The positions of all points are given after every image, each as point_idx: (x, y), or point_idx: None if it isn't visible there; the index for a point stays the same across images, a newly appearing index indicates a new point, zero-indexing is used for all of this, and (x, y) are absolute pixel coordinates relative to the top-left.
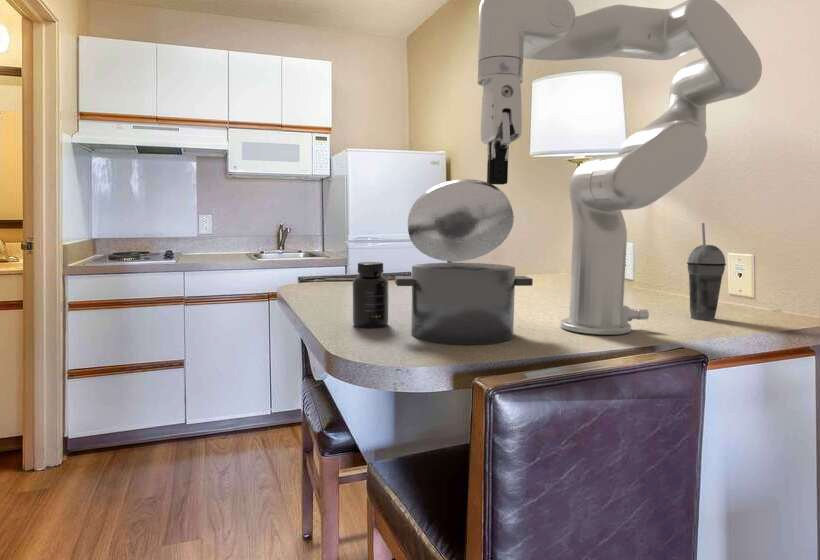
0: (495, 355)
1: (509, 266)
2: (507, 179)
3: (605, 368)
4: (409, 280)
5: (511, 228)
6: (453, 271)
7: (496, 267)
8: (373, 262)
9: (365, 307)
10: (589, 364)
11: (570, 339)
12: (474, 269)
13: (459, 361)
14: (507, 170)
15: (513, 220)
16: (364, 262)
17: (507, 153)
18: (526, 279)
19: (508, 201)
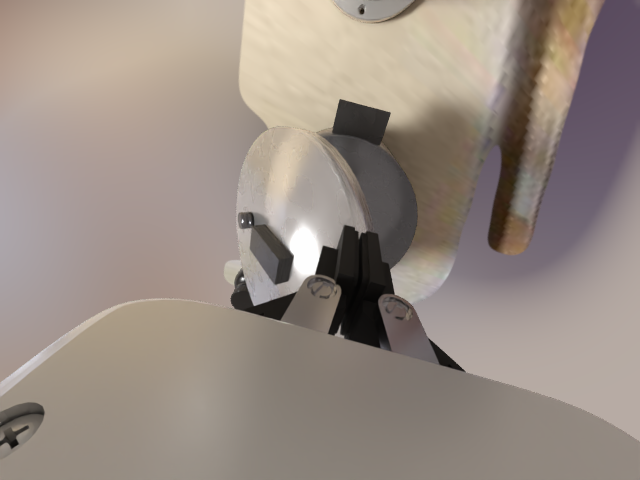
0: (445, 205)
1: (349, 143)
2: (378, 238)
3: (563, 122)
4: None
5: (310, 131)
6: (394, 265)
7: (361, 179)
8: (240, 298)
9: None
10: (538, 129)
11: (424, 60)
12: (382, 229)
13: (446, 244)
14: (381, 258)
15: (326, 140)
16: (239, 307)
17: (420, 328)
18: (386, 125)
19: (357, 192)
